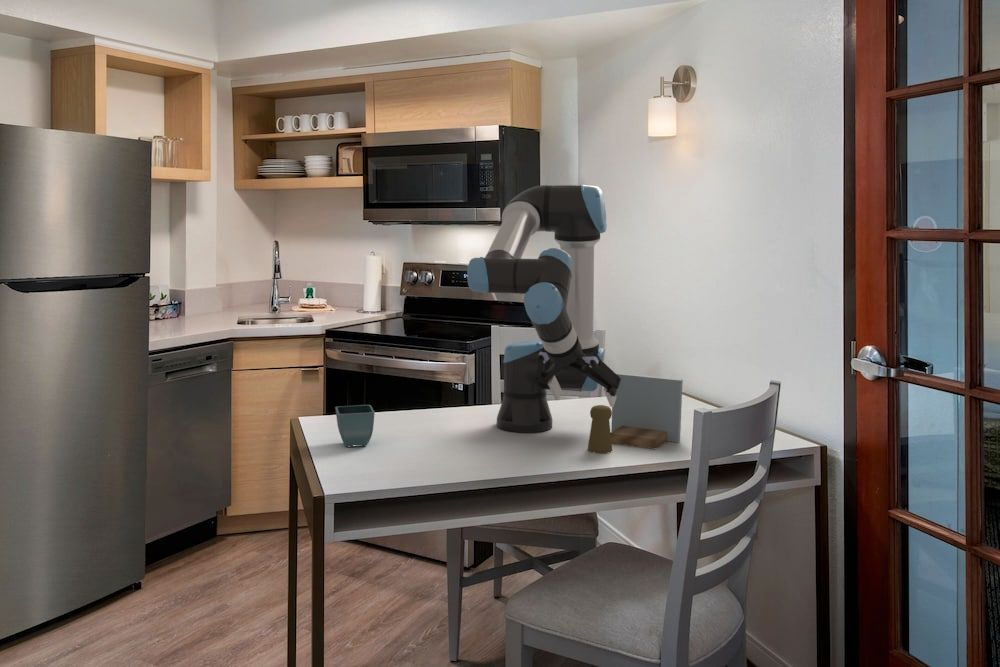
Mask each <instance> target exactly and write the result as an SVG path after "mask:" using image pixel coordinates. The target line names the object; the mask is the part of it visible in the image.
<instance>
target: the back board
mask: <svg viewBox="0 0 1000 667" xmlns="http://www.w3.org/2000/svg"><path fill="white" fill-rule="evenodd" d="M615 373H616V374H617V375H618V376H619V377H620V378H621V381H620V384H619V387H618V389H617V392H616V397H617V398H616V401H615V404H614V407H611V411H612V415H611V428H610V432H613V431H614V430H616V429H618V428H619V427H621V426H628V427H636V428H644V429H651V430H659V431H667V441H666V442H670V441H672V442H671V443H677V442H678V443H680V442H681V429H682V428H681V427H682V406H683V405H682V403H683V402H682V401H683V400H682V399H683V381H684V380H683V379H681V378H671V377H662V376H651V375H650V376H649V375H642V374H641V375H640V374H632V373H631V374H629V373H619V372H615ZM679 441H680V442H679Z"/></svg>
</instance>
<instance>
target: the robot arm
mask: <svg viewBox="0 0 1000 667" xmlns="http://www.w3.org/2000/svg"><path fill="white" fill-rule="evenodd" d="M605 203H606V202H605V198H604V194H603V191H602V189H601V188H600V187H599V186H596V185H588V184H586V185H585V184H564V185H562V184H560V185H559V184H556V185H547V184H544V185H536V186H533V187H530V188H527V189H526V190H523V191H521V192H520V193H519V194H516V196H514V197H513V198H512V199H511V200H510V201H509V202H507V204H506V206H505V208H504V209H503V211H502V215H501V222H502V223H501V224H500V227H499V229H498V230H497V233H496V235H495V237H494V239H493V241H492V243H491V245H490V246H489V249H488V251H487V253H486V255H485V256H484V257H483V256H480V257H473V258H470V260H469V262H468V265H467V273H466V274H467V276H466V279H467V285H468V288H469V290H470V291H472V292H474V293H484V294H520V295H521V294H524V295H523V305H524V307H525V312H526V314H527V317H528V318H529V319H530V321H531V323H532V326H533V328H534V329H535V331H536V333H537V335H538V338H539V339H531V340H530V339H529V340H521V341H517V342H512V343H510V344H508V345H506V347H505V348H504V351H503V352H504V356H503V361H502V363H503V395H502V396H503V398H502V401H501V404H500V406H499V407H500V408H499V410H498V412H497V416H496V427H497V428H499V429H500V430H503V431H508V432H515V433H539V432H545V431H548V430H551V429H553V415H552V413H551V410H550V407H549V403H548V400H547V391H548V390H550V392H551V394H552V396H553V398H554V400H555V401H559V400H560V398H561V396H562V393H563V391H568V392H569V391H570V392H579V393H582V392H594V391H596V390H597V389H599V386H601V387H602V388H603V393H604V395H605V398H606V400H607V402H608V404H609V407H610V408H612V407H614V404H615V401H616V398H617V397H616V392H617V389H618V387H619V384H620V381H621V378H620V377H619V376H618V375H617V374H616V373H617V372H615V371H614V370H612V369H611V368H610V367H609V366H608V365H607V364H606V363H605V362H604V358H605V348H602V347H600V341H599V340H598V339H597V337H596V336H594V303H595V302H594V298H595V297H594V293H595V292H594V291H595V290H594V289H595V288H594V284H595V282H594V281H595V278H594V276H595V272H594V271H595V245H597V243H598V242H600V240H601V234H603V233H605V232H606V231H607V211H606V204H605ZM536 232H547V233H549V232H552V233H553V232H554V241H555V242H556V243H558V245H559V247H560V248H557V247H555V248H554V247H550V248H547V249H545V250H543V251H542V252H540V254H539V256H538V258H523V257H522V256H523V254H524V252H525V251H526V248H527V246H528V243H529V241H530V239H531V236H533V235H534V234H536Z"/></svg>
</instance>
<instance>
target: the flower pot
mask: <svg viewBox="0 0 1000 667" xmlns="http://www.w3.org/2000/svg"><path fill="white" fill-rule="evenodd" d="M334 408H335V409H334V410H335V416H336V417H335V418H336V424H337V429H338V432H339V435H340V437H341V440H342V443H343V444H344V446H345V447H346V446H353V445H368V444H369V443H370V441H371V439H372V436H373V432H374V423H375V422H374V421H375V413H376V412H375V410H374V408H373V406H372V405H370V404H359V405H344V406H343V405H342V406H341V405H340V406H335V407H334Z"/></svg>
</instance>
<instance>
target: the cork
mask: <svg viewBox="0 0 1000 667" xmlns="http://www.w3.org/2000/svg"><path fill="white" fill-rule="evenodd" d="M589 415H590V418H591V425H590V431H589V438H588V439H589V440H588V443H587V444H588V445H587V451H588V452H590V453H593V452H595V453H594V454H608V453H607V452H610V453H612V452H613V445H612V444H613V443H612V442H611V424H610V423H611V422H610V420H611V419H612V408H611V407H610V406H608V405H604V404H603V405H602V404H598V405H597V404H596V405H594V406H592V407H591V408H590V411H589ZM611 451H612V452H611Z"/></svg>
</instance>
